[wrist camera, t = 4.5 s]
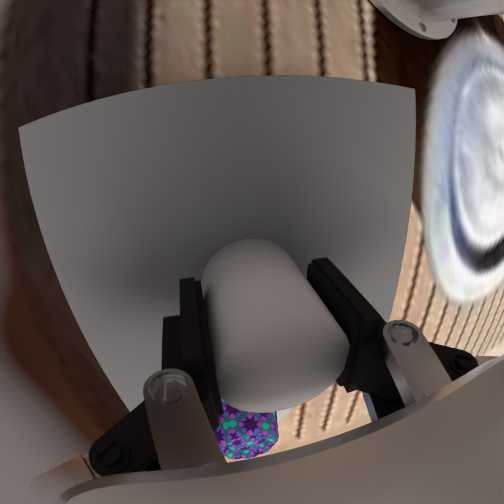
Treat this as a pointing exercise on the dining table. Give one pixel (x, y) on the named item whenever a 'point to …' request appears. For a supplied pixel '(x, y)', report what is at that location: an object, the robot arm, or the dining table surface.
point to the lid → (226, 221)
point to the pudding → (247, 431)
